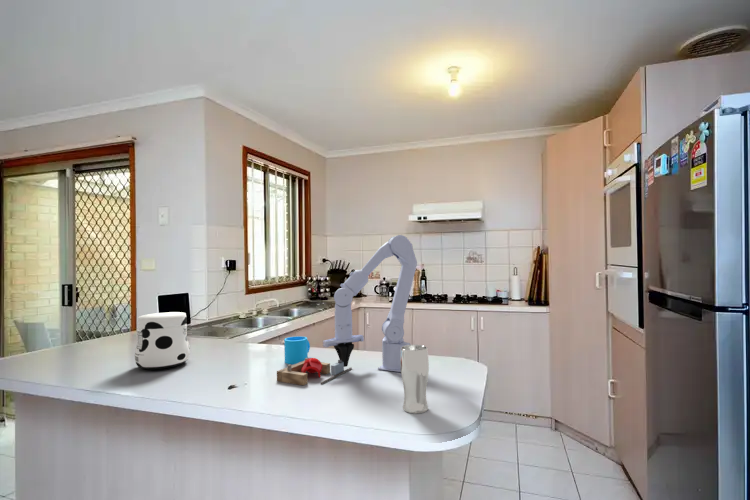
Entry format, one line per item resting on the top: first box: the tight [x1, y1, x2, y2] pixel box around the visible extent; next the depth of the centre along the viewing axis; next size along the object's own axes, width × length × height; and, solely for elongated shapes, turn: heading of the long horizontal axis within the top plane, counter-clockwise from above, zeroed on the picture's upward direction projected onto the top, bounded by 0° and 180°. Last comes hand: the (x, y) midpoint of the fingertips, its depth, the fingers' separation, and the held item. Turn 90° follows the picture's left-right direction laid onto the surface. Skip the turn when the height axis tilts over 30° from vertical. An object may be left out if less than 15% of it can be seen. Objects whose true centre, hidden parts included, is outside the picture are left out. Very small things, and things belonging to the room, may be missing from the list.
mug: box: [283, 335, 311, 365], centre depth 148 cm, size 12×8×8 cm
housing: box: [276, 358, 352, 386], centre depth 129 cm, size 14×20×4 cm
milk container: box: [134, 311, 191, 370], centre depth 144 cm, size 17×17×18 cm
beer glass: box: [400, 344, 430, 415], centre depth 99 cm, size 7×7×15 cm
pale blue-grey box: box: [330, 359, 345, 376], centre depth 130 cm, size 2×5×4 cm, turn 152°
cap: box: [301, 357, 322, 378], centre depth 128 cm, size 8×6×6 cm
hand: (344, 366), depth 133 cm, fingers closed
